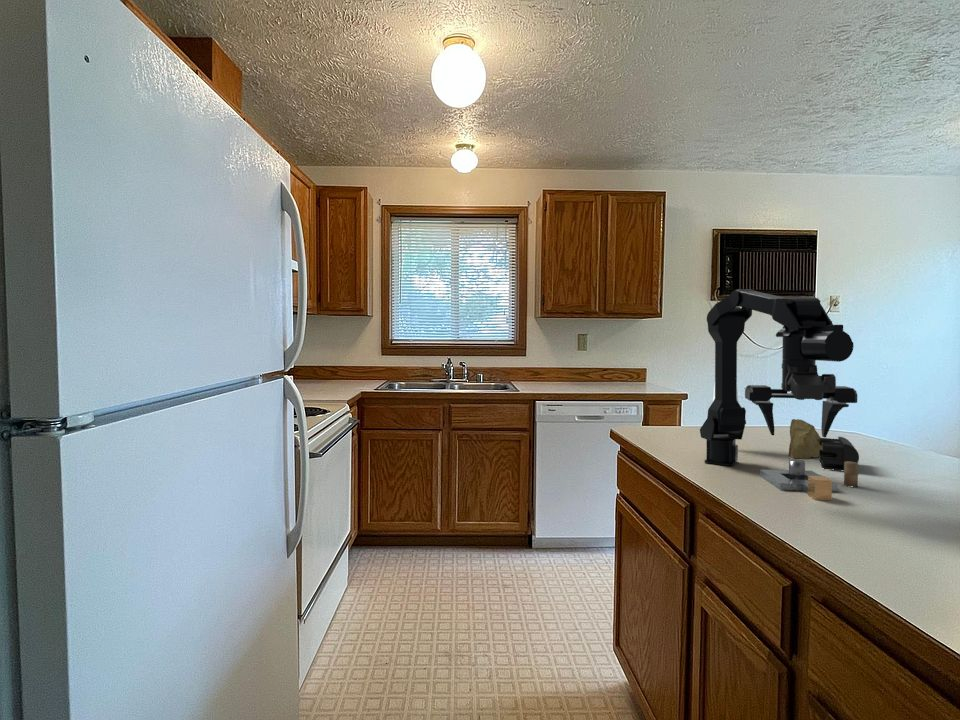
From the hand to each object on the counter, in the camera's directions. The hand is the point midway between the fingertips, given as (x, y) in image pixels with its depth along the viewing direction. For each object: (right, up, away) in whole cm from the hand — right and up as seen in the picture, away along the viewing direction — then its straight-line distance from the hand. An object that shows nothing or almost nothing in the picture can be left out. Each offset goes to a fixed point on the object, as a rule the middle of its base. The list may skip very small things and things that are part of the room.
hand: (797, 436), depth 105 cm
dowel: (+15, -12, +6) cm, 20 cm away
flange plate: (+5, -12, +6) cm, 14 cm away
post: (+5, -12, +9) cm, 15 cm away
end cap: (+23, -11, +22) cm, 34 cm away
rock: (+23, -11, +33) cm, 41 cm away
